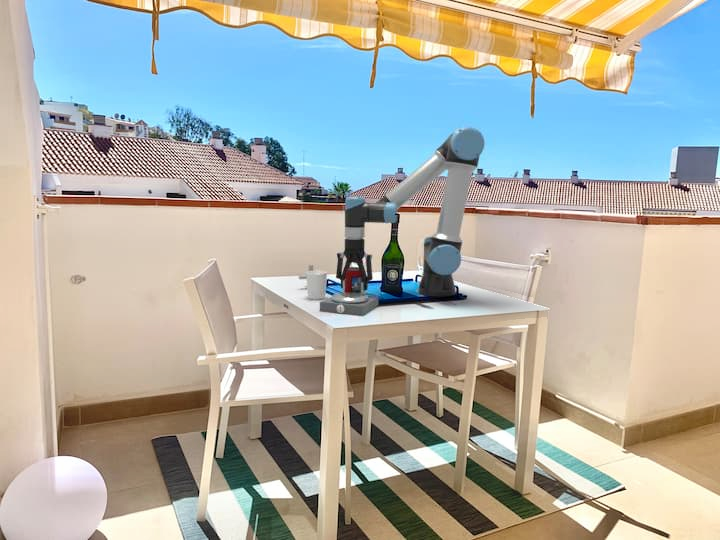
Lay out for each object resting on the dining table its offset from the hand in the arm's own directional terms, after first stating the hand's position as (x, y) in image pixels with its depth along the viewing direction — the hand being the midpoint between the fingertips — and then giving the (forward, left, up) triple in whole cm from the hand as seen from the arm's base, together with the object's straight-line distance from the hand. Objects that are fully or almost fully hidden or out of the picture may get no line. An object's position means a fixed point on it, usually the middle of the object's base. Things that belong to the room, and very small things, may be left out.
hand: (353, 297), depth 191 cm
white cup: (+14, +4, -1) cm, 15 cm away
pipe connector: (+24, -11, -1) cm, 26 cm away
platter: (-4, +14, +3) cm, 15 cm away
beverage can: (0, 0, -1) cm, 1 cm away
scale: (-4, +14, -1) cm, 15 cm away
